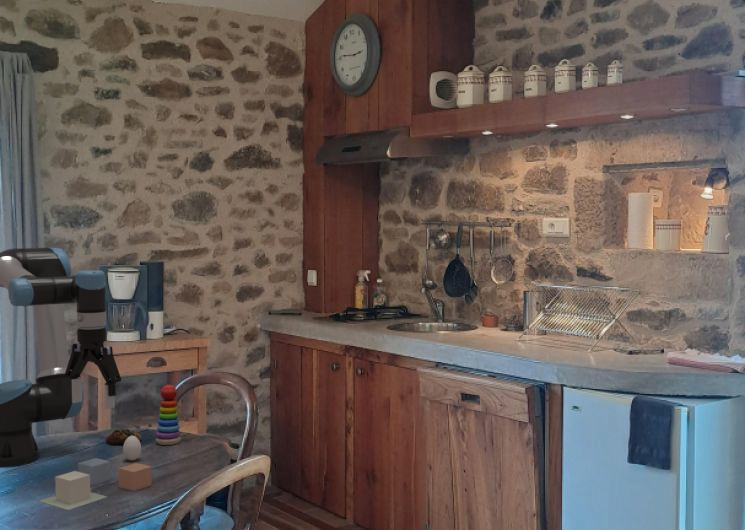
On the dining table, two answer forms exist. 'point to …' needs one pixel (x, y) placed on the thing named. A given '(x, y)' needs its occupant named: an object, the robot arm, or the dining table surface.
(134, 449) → the egg
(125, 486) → the block
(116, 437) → the bread roll
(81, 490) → the block
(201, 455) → the dining table surface
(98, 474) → the block
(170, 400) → the stacking toy
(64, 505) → the plate
